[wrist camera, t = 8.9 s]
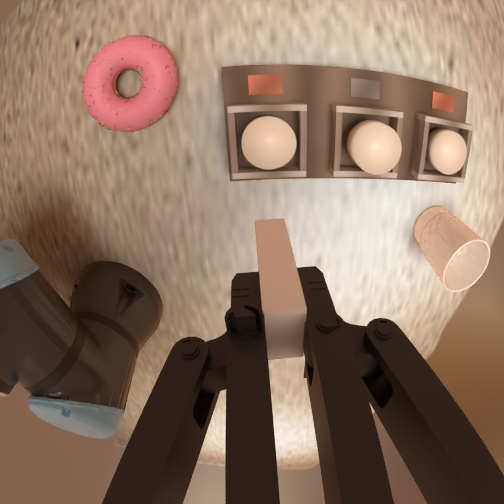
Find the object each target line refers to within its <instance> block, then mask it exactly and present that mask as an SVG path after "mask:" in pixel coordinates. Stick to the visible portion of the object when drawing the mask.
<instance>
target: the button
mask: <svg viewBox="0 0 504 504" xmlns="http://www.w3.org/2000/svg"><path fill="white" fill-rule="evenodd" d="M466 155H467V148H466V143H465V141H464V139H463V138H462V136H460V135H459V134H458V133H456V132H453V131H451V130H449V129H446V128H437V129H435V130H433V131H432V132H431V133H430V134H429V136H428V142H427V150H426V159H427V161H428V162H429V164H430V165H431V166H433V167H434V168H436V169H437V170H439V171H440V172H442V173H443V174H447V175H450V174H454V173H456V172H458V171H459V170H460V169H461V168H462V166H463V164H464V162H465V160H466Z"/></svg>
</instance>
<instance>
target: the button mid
mask: <svg viewBox="0 0 504 504" xmlns="http://www.w3.org/2000/svg"><path fill="white" fill-rule="evenodd" d="M347 150H348V153H349V155H350V157H351V159H352V160H353V161H354V162H355V163H356V164H357V165H358V166H359V167H360V168H361V169H362V170H364V171H365V172H367V173H370V174H374V175H380V174H384V173H386V172H388V171H390V170H391V169H393V168H394V167H395V165H396V164H397V163H398V161H399V159H400V156H401V151H402V146H401V141H400V138H399V136H398V134H397V133H396V132H395V130H394V129H392V128H391V127H389V126H387V125H385V124H383V123H381V122H379V121H376V120H365V121H362V122H360V123H358V124H357V125H356V126H354V127H353V129H352V130H351V132H350V133H349V136H348V139H347Z"/></svg>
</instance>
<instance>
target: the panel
mask: <svg viewBox="0 0 504 504" xmlns="http://www.w3.org/2000/svg"><path fill="white" fill-rule="evenodd" d="M222 77H223V92H224V106H225V120H226V134H227V147H228V160H229V173H230V181H241V180H263V179H295V178H364V179H395V180H415V181H431V182H445V183H456V182H460V183H464V178H465V173H466V168H467V163H468V157H469V151H470V144H471V137H472V130H473V126H472V125H469V124H467V123H465V121H466V111H467V98H468V92H465V91H462V90H458V89H455V88H451V87H448V86H444V85H440V84H436V83H432V82H428V81H424V80H419V79H414V78H410V77H404V76H399V75H394V74H388V73H381V72H375V71H367V70H359V69H351V68H340V67H328V66H310V65H250V66H232V67H222ZM261 115H274V116H278V117H280V118H282V119H283V120H284V121H286V122H287V123H288V125H289V126H290V127H291V128H292V130H293V132H294V134H295V136H296V143H297V144H296V150H295V153H294V155H293V157H292V158H291V160H290V161H289V162H288V163H286V164H285V165H284V166H282V167H279V168H276V169H270V170H269V169H261V168H258V167H256V166H254V165H253V164H251V163H250V162H249V161H248V160H247V159H246V157H245V156H244V153H243V151H242V145H241V142H242V134H243V131H244V128H245V127H246V125H247V124H248V123H249V122H250V121H251V120H252V119H254V118H256V117H258V116H261ZM365 120H376V121H379V122H381V123H383V124H385V125H387V126H389V127H391V128H392V129H394V130H395V132H396V133H397V134H398V136H399V138H400V141H401V146H402V151H401V156H400V159H399V161H398V163H397V164H396V165H395V167H394V168H393V169H391V170H390V171H388V172H386V173H384V174H380V175H374V174H370V173H367V172H365V171H364V170H362V169H361V168H360V167H359V166H358V165H357V164H356V163H355V162H354V161H353V160H352V159H351V157H350V155H349V153H348V150H347V139H348V136H349V133H350V132H351V130H352V129H353V127H354V126H356V125H357V124H358V123H360V122H362V121H365ZM437 128H446V129H449V130H451V131H453V132H456V133H458V134H459V135H460V136H462V138H463V139H464V141H465V143H466V148H467V155H466V160H465V162H464V164H463V166H462V168H461V169H460V170H459V171H458V172H456V173H454V174H450V175H447V174H443V173H442V172H440V171H439V170H437V169H436V168H434V167H433V166H431V165H430V164H429V162H428V161H427V159H426V150H427V142H428V136H429V134H430V133H431V132H432V131H433V130H435V129H437Z"/></svg>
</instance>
